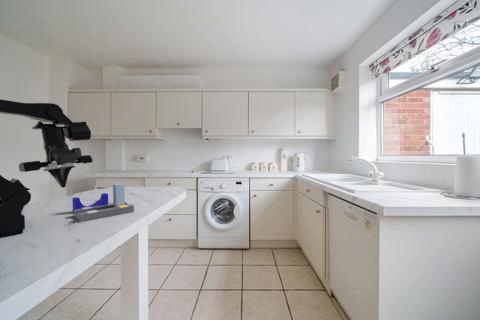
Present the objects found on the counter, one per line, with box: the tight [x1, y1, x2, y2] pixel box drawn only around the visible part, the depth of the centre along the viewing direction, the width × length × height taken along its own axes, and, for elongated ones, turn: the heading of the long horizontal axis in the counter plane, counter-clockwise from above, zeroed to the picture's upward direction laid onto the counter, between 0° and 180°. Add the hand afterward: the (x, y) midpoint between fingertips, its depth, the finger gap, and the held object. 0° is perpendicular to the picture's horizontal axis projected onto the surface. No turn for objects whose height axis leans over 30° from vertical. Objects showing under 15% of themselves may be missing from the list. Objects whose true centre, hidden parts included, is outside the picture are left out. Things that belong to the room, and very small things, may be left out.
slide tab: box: [112, 183, 126, 207], centre depth 89 cm, size 3×4×10 cm
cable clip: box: [71, 192, 109, 213], centre depth 92 cm, size 12×4×6 cm, turn 144°
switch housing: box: [73, 201, 135, 223], centre depth 85 cm, size 18×10×3 cm, turn 136°
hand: (63, 187), depth 76 cm, fingers closed
